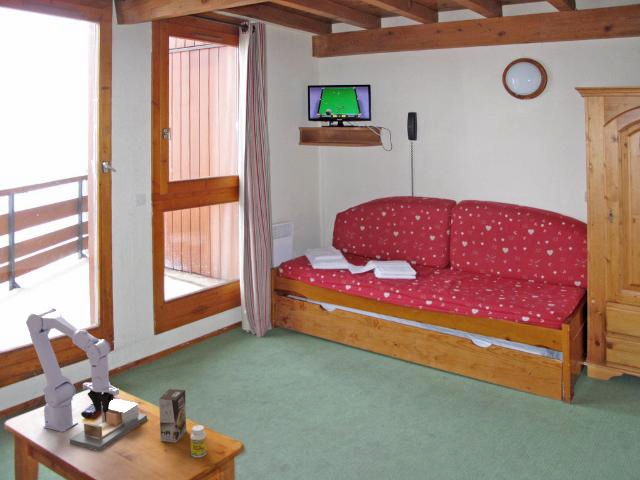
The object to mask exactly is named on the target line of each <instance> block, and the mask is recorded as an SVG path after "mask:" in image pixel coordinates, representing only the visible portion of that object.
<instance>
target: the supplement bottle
mask: <svg viewBox="0 0 640 480" xmlns="http://www.w3.org/2000/svg"><path fill="white" fill-rule="evenodd" d="M206 433H207V432H205V427H204V426H203V425H200V424H198V425H194V426H192V427H191V434H190V436H189V437H190V440H189V441H190V455H191V456H192V457H193V458H202V457H205V456H206V455H207V453H208V452H207V451H208V448H207V446H208V444H207V434H206Z"/></svg>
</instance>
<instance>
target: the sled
mask: <svg viewBox="0 0 640 480" xmlns="http://www.w3.org/2000/svg"><path fill="white" fill-rule="evenodd" d="M94 424H95V423H94ZM94 424H93V423H91V422H90V423H89V422H84V423H83V431H84V433H85V434H84V436H88V437H92V438H96V439H102V438H103V437H105V436H106V435H108V434H110V433H111V432H113V431H114V430H116V429H117V428H119V427H120V426H122V422H121V423H119V424H117V425H114V424H110V423H107V420H106V421H105V422H103V423H102V424H100V425H94Z"/></svg>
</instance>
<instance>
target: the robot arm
mask: <svg viewBox="0 0 640 480" xmlns="http://www.w3.org/2000/svg"><path fill="white" fill-rule="evenodd" d="M26 319H27V320H26V321H25V324H26V326H27V329H28V332H29V337H30V339H31V341H32V345H33V347H34V349H35V352H36V354H37V355H36V356H37V357H38V360H39V362H40V366H41V368H42V370H43V373H44V376H45V379H46V382H45V384H44V387H43V388H42V389H43V392H44V400H45V403H46V404H45V405H44V408H43V416H44V417H43V418H44V425H43V426H42V427H43V428H45V429H50V430H53V431H58V432H61V433H64V432H65V431H67V430H69V429H71V428H72V427H74V426H75V425H77V424H78V423H79V421H76V420H73V419H74V418H73V406H72V404H73V403H72V401H73V400H74V399H73V397H74V396H75V395H76V387H75V386H74V384H73V383H72V381H71V380H70V377H68V376H65V375H63V373H62V370H61V367H60V366H59V365H60V364H59V362H58V360H57V356H56V354H55V351H54V349H53V347H52V343H51V341H50V339H49V334H50V331H51V330H52V329H55V330H57V331H59V332H60V333H62V334H64V335H66V336H68V337H69V338H70V339H71V341H72V344H74V345H75V346H76V347H78V348H79V349H81V350H82V351H84V352H85V353H86V357H87V358H88V361H89V364H90V370H91V371H90V373H91V382H87V381H86V382H84V383H82V389H83V390H89V392H87V396H88V397H89V398H90V400H91V402H92V404H93V406H94V409H95V412H98V411H100V410H101V407H102V409H103V412H104V413H105V412H107V411H109V406H110V402H111V401H112V399H113V397H116V396H118V395H119V394H120V389H119V388H118V387H117V388H116V387H115V386H113V385H111V382H110V380H109V373H110V372H109V358H108V355H109V354H110V353H111V351H112V348H111V344H110V343H109V342H108V341H107V340H106V339H102V338H101V339H100V338H97V337H96V336H94V335H92V334H90V333H89V332H88V330H86V329H77V328H76V327H75V326H74V325H73V324H72V323H70V322H69V321H68V320H67V319H65V318H64V317H63V316H62V313H61V311H59V310H58V309H56V308H55V307H52V306H50V307H48V308H44V309H43V310H40V311H37V312H35V313H31V314H29V316H28V317H27V318H26Z"/></svg>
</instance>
